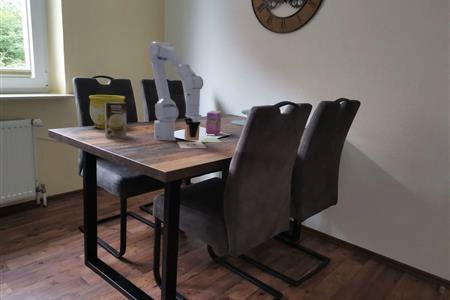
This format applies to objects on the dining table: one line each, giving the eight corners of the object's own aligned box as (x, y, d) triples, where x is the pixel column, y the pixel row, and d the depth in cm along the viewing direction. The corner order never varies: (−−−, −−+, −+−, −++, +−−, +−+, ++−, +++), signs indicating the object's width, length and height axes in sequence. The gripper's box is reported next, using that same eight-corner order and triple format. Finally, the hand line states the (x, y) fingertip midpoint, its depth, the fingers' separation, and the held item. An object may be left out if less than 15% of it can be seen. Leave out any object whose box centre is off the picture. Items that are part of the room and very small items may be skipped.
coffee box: (106, 138, 155) (105, 102, 151) (104, 135, 161) (104, 101, 157) (126, 137, 159) (126, 103, 155) (125, 135, 164) (124, 101, 161)
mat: (202, 143, 156) (202, 141, 156) (198, 139, 165) (198, 138, 165) (221, 142, 159) (221, 141, 159) (216, 139, 167) (216, 138, 167)
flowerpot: (131, 128, 183) (131, 97, 179) (99, 131, 170) (98, 98, 166) (115, 123, 195) (115, 94, 191) (84, 125, 182) (83, 95, 179)
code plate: (180, 148, 142) (180, 147, 142) (177, 142, 154) (177, 141, 154) (206, 148, 145) (206, 147, 145) (201, 142, 157) (201, 141, 157)
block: (186, 140, 146) (186, 126, 144) (184, 137, 151) (184, 124, 149) (198, 140, 147) (199, 126, 146) (196, 137, 152) (197, 124, 151)
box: (216, 136, 175) (217, 113, 172) (205, 135, 176) (206, 112, 173) (220, 132, 185) (221, 111, 182) (210, 132, 186) (211, 110, 183)
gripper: (205, 106, 140) (203, 139, 143) (198, 103, 153) (197, 132, 156) (188, 106, 138) (187, 139, 141) (183, 102, 151) (182, 132, 155)
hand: (191, 135), depth 149 cm, fingers closed on block, 5 cm apart
